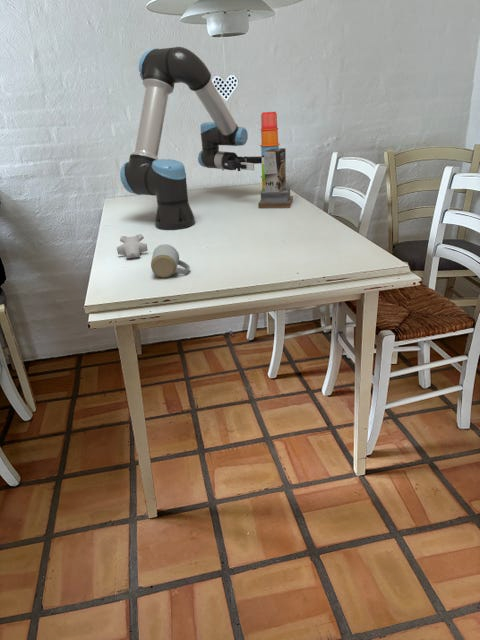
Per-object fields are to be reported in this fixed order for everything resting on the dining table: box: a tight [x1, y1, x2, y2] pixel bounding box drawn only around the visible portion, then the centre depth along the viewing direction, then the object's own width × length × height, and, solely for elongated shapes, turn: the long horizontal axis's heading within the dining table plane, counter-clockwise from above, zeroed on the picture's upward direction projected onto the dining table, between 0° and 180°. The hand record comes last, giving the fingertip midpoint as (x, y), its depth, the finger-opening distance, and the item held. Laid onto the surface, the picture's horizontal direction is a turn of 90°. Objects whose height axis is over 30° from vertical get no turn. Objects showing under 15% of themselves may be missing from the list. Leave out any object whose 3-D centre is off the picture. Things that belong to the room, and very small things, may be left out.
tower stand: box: [257, 186, 294, 209], centre depth 201 cm, size 13×13×6 cm
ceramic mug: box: [150, 243, 190, 278], centre depth 136 cm, size 11×8×8 cm
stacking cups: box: [259, 111, 280, 193], centre depth 216 cm, size 10×10×35 cm
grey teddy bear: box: [116, 233, 149, 259], centre depth 155 cm, size 10×5×15 cm
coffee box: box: [264, 147, 287, 192], centre depth 196 cm, size 9×6×16 cm
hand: (264, 164), depth 199 cm, fingers open, 13 cm apart
